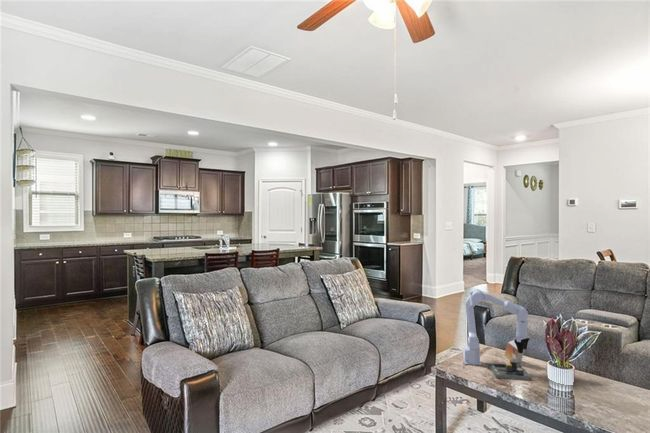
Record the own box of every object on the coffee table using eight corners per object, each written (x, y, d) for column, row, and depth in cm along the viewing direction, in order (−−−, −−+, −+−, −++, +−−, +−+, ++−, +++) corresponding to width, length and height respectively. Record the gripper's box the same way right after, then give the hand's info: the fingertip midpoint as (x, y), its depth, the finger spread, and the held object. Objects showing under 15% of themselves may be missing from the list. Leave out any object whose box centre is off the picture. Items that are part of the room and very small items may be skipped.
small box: (504, 355, 231) (507, 342, 227) (510, 352, 233) (514, 339, 229) (515, 364, 224) (518, 350, 220) (521, 361, 226) (525, 347, 222)
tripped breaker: (506, 371, 211) (506, 364, 211) (505, 369, 213) (505, 363, 213) (512, 371, 211) (512, 364, 211) (511, 369, 213) (511, 363, 213)
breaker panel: (496, 378, 206) (496, 368, 206) (488, 366, 221) (488, 357, 221) (531, 380, 203) (531, 370, 203) (521, 368, 218) (521, 359, 218)
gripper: (526, 332, 210) (526, 356, 210) (532, 326, 221) (533, 349, 221) (512, 329, 215) (513, 353, 215) (519, 324, 225) (520, 346, 225)
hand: (522, 351), depth 218 cm, fingers open, 7 cm apart
